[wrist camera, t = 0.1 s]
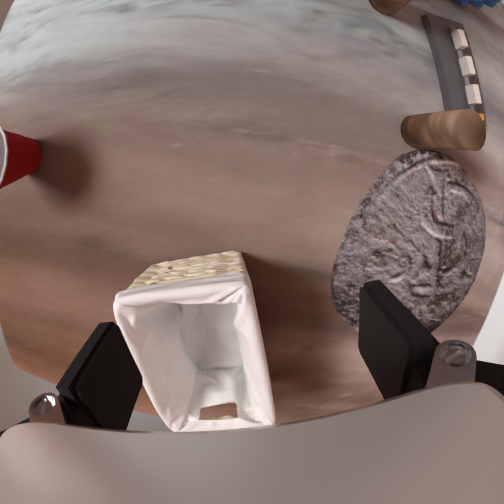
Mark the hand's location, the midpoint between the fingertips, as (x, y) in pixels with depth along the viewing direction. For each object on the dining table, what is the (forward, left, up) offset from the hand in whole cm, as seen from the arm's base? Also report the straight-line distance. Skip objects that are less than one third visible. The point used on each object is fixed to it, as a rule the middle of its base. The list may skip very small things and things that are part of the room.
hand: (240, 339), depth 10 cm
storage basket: (+17, -8, -32) cm, 37 cm away
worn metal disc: (+13, +29, -32) cm, 45 cm away
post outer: (-7, +28, -31) cm, 42 cm away
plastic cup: (-16, -33, -31) cm, 48 cm away
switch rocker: (-19, +40, -28) cm, 52 cm away
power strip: (-19, +40, -31) cm, 54 cm away
